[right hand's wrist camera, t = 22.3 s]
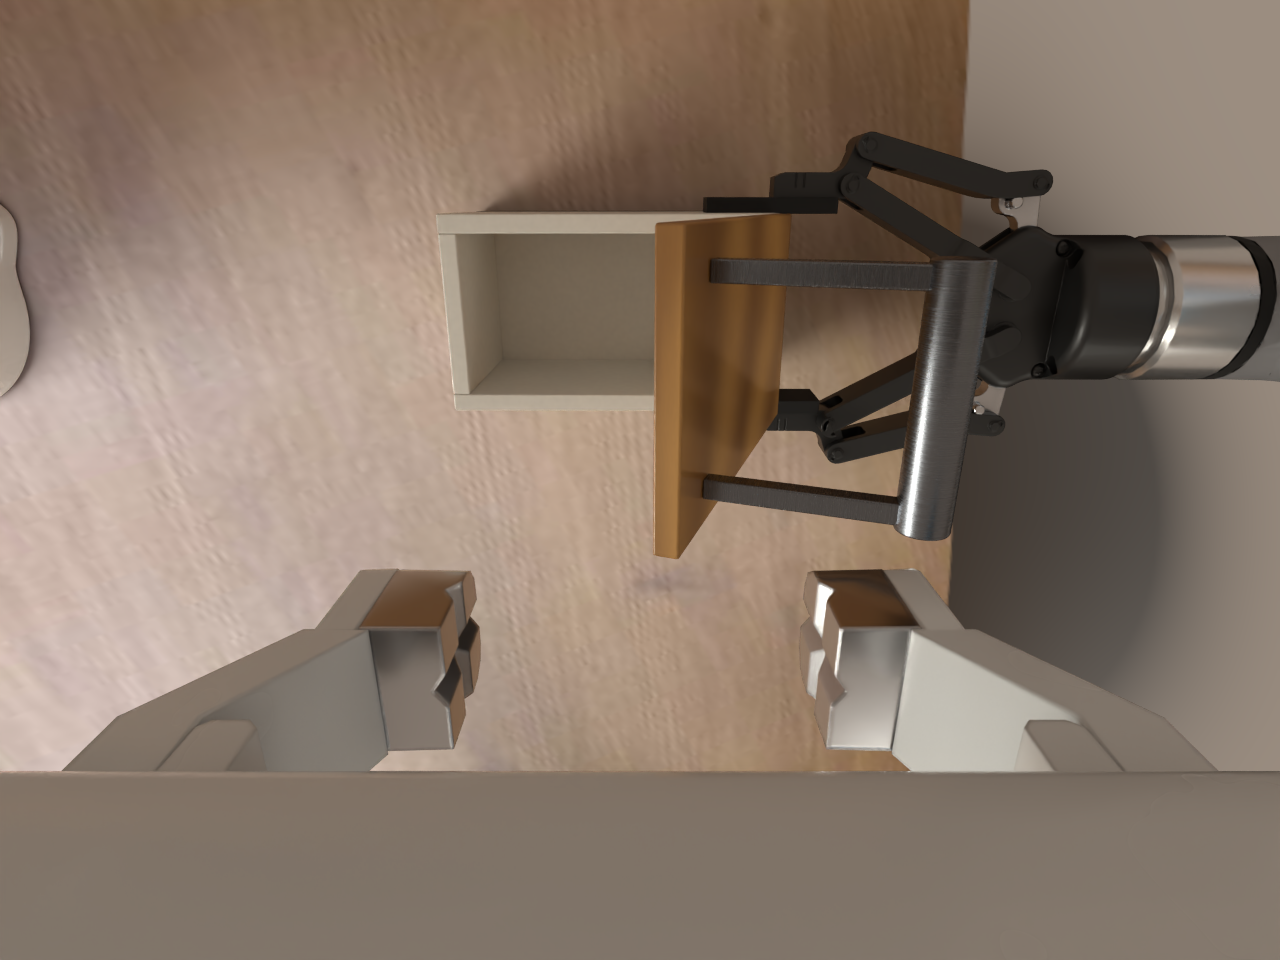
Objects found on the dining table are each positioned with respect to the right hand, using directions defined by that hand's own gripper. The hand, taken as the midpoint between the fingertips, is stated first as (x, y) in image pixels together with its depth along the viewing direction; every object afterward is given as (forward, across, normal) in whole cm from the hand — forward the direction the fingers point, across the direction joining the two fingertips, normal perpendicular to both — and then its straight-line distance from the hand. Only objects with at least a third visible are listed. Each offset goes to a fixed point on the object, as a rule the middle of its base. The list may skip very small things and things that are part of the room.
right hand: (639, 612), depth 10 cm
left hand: (+31, +3, 0) cm, 31 cm away
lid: (+19, +3, 0) cm, 19 cm away
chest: (+37, -1, 0) cm, 37 cm away
